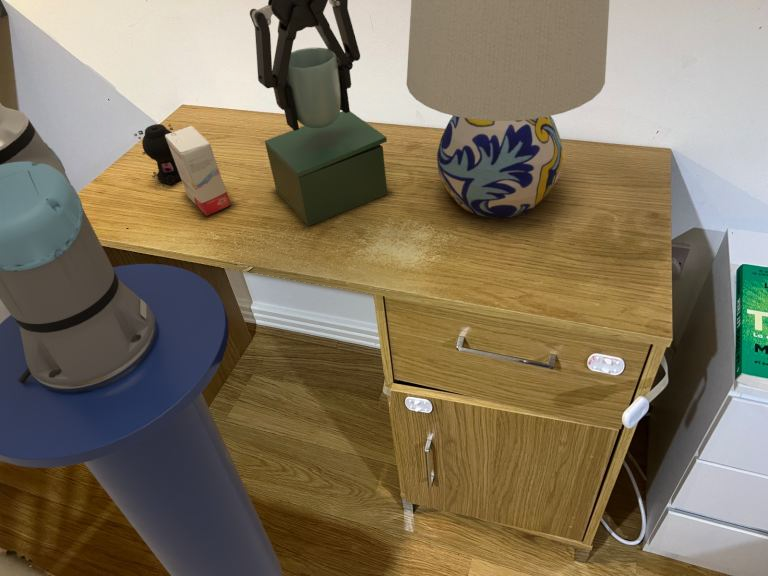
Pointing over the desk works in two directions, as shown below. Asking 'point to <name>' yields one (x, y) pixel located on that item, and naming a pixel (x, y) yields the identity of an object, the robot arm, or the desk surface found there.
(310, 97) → the cup
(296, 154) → the lid
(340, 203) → the chest
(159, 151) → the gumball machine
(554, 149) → the table lamp
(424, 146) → the desk surface
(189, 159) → the ink box
